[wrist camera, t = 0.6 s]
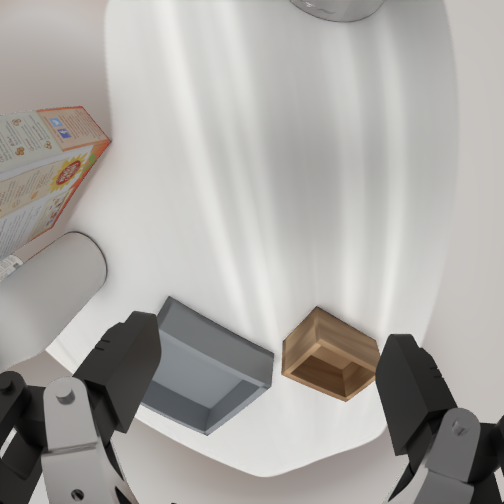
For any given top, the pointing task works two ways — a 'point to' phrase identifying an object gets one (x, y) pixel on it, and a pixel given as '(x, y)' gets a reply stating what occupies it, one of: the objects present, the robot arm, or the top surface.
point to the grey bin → (204, 370)
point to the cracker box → (42, 168)
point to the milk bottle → (47, 295)
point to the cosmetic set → (9, 266)
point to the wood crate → (330, 356)
